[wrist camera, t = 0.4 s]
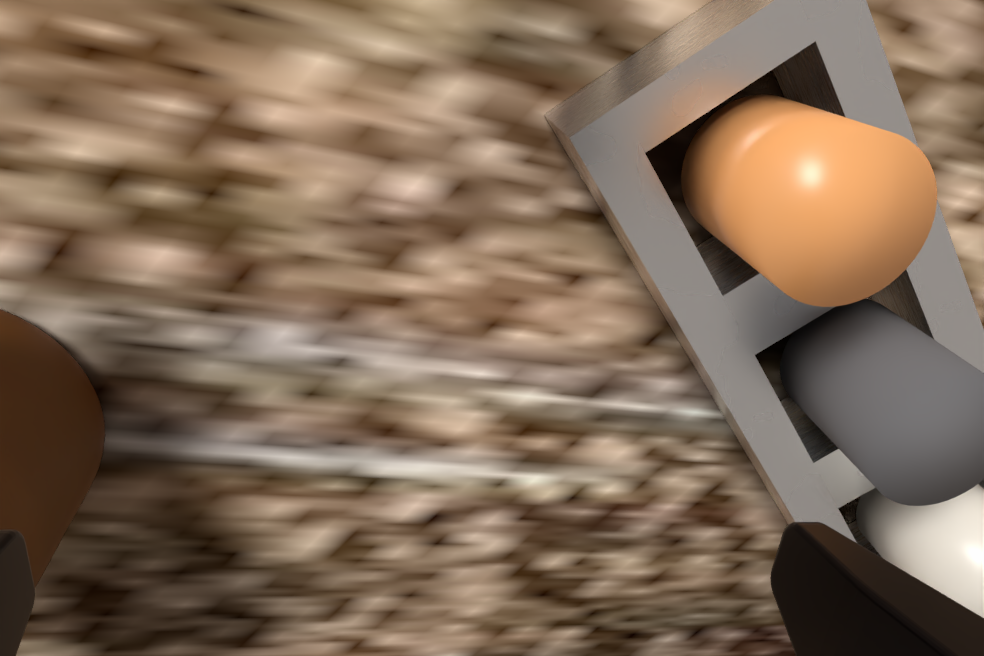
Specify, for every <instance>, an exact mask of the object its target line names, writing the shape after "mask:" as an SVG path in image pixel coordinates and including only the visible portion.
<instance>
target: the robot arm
mask: <svg viewBox="0 0 984 656" xmlns="http://www.w3.org/2000/svg"><path fill="white" fill-rule="evenodd" d="M771 587H772V591H773V594H774V597H775V600H776V602H777V605H778V608H779V611H780V613H781V616H782V619H783V622H784V624H785V627H786V630H787V632H788V635H789V638H790V641H791V643H792V646H793V649H794V651H795V654H796V656H984V618H983V617H981V616H979V615H978V614H976V613H974V612H973V611H971V610H969V609H968V608H966V607H964V606H963V605H961V604H959V603H957V602H956V601H954V600H952V599H951V598H949V597H947V596H946V595H944V594H942V593H941V592H939V591H937V590H935V589H934V588H932V587H930V586H929V585H927V584H925V583H924V582H922V581H920V580H919V579H917V578H915V577H913V576H912V575H910V574H908V573H907V572H905V571H903V570H902V569H900V568H898V567H897V566H895V565H893V564H891V563H890V562H888V561H886V560H885V559H883V558H881V557H880V556H878V555H876V554H875V553H873V552H871V551H869V550H868V549H866V548H864V547H863V546H861V545H859V544H858V543H856V542H854V541H853V540H851V539H849V538H847V537H846V536H844V535H842V534H841V533H839V532H837V531H836V530H834V529H832V528H831V527H829V526H827V525H825V524H823V523H820V522H793V523H790V524H789V525H788V526H787V527H786V528H785V530H784V532H783V535H782V538H781V542H780V545H779V548H778V551H777V554H776V558H775V561H774V564H773V567H772V571H771ZM34 597H35V587H34V581H33V576H32V571H31V566H30V561H29V556H28V552H27V547H26V542H25V539H24V537H23V535H22V533H20V532H19V531H17V530H13V529H4V530H0V656H16V653H17V651H18V648H19V645H20V642H21V639H22V637H23V634H24V631H25V628H26V625H27V623H28V620H29V617H30V614H31V611H32V608H33V604H34Z"/></svg>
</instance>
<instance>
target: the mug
mask: <svg viewBox="0 0 984 656" xmlns="http://www.w3.org/2000/svg"><path fill="white" fill-rule="evenodd" d="M104 441H105V424H104V417H103V413H102V408H101V405H100V402H99V399H98V397H97V394H96V392H95V390H94V388H93V386H92V384H91V383H90V381H89V379H88V377H87V375H86V374H85V372H84V371H83V370H82V368H81V367H80V366H79V364H78V363H77V362H76V360H75V359H74V358H73V357H72V356H71V355H70V354H69V353H68V352H67V351H66V350H65V349H64V348H63V347H62V346H61V345H60V344H59V343H57V342H56V341H55V340H54V339H53V338H52V337H50V336H49V335H47V334H46V333H44V332H43V331H41V330H40V329H39V328H37V327H36V326H34V325H32V324H30V323H28V322H27V321H25V320H23V319H21V318H19V317H17V316H15V315H12V314H10V313H8V312H5V311H3V310H0V530H4V529H13V530H17V531H19V532H20V533H22V535H23V537H24V539H25V542H26V547H27V552H28V556H29V561H30V566H31V571H32V576H33V581H34V587H36V585H37V583H38V582H39V580H40V578H41V576H42V575H43V573H44V571H45V569H46V567H47V566H48V564H49V562H50V560H51V558H52V556H53V554H54V553H55V551H56V549H57V547H58V545H59V543H60V541H61V539H62V537H63V536H64V534H65V532H66V530H67V528H68V527H69V525H70V523H71V521H72V519H73V518H74V516H75V514H76V512H77V511H78V509H79V507H80V505H81V504H82V502H83V500H84V498H85V496H86V494H87V492H88V490H89V488H90V486H91V484H92V482H93V480H94V478H95V476H96V474H97V471H98V469H99V465H100V462H101V459H102V455H103V449H104Z"/></svg>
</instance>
